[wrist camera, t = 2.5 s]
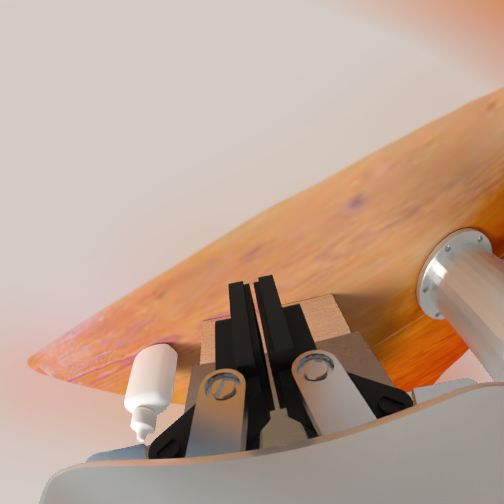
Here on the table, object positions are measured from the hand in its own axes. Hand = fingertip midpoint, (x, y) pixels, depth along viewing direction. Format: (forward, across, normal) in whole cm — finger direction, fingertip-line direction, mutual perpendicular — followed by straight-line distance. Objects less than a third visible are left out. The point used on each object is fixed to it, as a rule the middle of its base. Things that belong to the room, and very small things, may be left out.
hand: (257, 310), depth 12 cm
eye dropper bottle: (+17, +13, +17) cm, 28 cm away
